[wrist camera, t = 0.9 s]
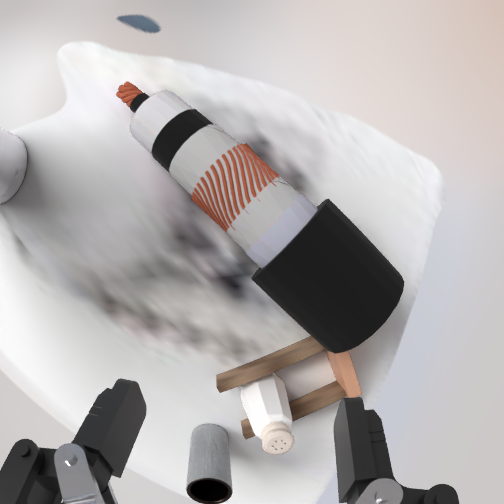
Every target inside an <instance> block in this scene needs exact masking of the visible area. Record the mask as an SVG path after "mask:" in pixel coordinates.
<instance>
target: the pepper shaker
mask: <svg viewBox="0 0 504 504" xmlns="http://www.w3.org/2000/svg"><path fill="white" fill-rule="evenodd" d="M241 401H242V404H243V406H244V409H245V411H246V414H247V416H248V419H249V421H250V424H251V427H252V429H253V432H254V433H255V435H256V436H257V437H258V438H260V439H261V440H262V446H263V449H264V450H265V451H266V452H267V453H269V454H273V455H279V454H283V453H285V452H287V451H289V450H290V449H291V448H292V447H293V445H294V437H293V435H292V434H291V431H292V415H291V411H290V406H289V402H288V397H287V393H286V388H285V384H284V381H282V380H281V379H280V378H279V377H278V376H277V375H276V374H275V373H270V374H268V375H265V376H263V377H260V378H258V379H256V380H253V381H250V382H248V383H245V384H243V385H241Z"/></svg>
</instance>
